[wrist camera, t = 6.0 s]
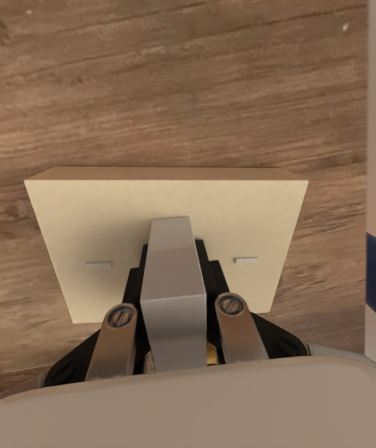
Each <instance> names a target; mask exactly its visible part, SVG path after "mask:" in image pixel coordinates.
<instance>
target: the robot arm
mask: <svg viewBox="0 0 376 448" xmlns="http://www.w3.org/2000/svg"><path fill="white" fill-rule="evenodd" d="M195 244H196V249H197V254H198V258H199V263H200V267H201V272H202V277H203V281H204V286H205V290H206V308H207V341H208V342H209V343H210V344H212V345H213V346H214V351H215V356H216V361H217V365H215V366H207V367H198V368H190V369H182V370H173V371H165V372H157V373H149V374H146V372H147V359H148V355H147V353H148V352H149V351H150V345H149V340H148V336H147V331H146V327H145V322H144V318H143V313H142V309H141V304H140V297H141V290H142V284H143V277H144V270H145V264H146V257H147V250H148V244H145V245H143V249H142V254H141V259H140V264H139V267H137V268H131V269H130V271H129V275H128V279H127V283H126V287H125V291H124V295H123V299H122V303H121V304H118V305H116V306H114V307H112V308H111V309H110V310H109V311H108V312H107V313H106V315H105V317H104V320H103V323H102V326H101V329H99V330H98V331H97V332H95V333H94V334H93V335H92V336H90V337H89V338H88V339H86V340H85V341H84V342H83V343H81V344H80V345H79V346H78V347H76V348H75V349H74V350H72V351H71V352H70V353H69V354H67V355H66V356H65V357H63V358H62V359H61V360H60V361H58V362H57V363H56V364H55V365H54V366H53V367H52V368H51V369H50V371H49V372H48V373H47V374H45V375H43V374H42V373H40V374H38V375H36V376H34V377H31V378H29V379H27V380H25V381H23V382H21V383H19V384H16V385H14V386H12V387H10V388H8V389H6V390H3V391H1V392H0V448H376V363H375V362H374V361H373V360H371V359H370V358H368V357H366V356H364V355H362V354H359V353H355V352H351V351H347V350H343V349H338V348H334V347H330V346H326V345H322V344H318V343H314V342H309V341H308V343H302V342H301V341H300V340H299V338H297V337H296V336H294V335H293V334H291V333H289V332H287V331H285V330H284V329H282V328H280V327H278V326H276V325H274V324H273V323H271V322H269V321H267V320H265V319H264V318H262V317H260V316H258V315H256V314H254V313H253V312H251V311H250V310H249V308H248V306H247V303H246V301H245V300H244V299H243V298H242V297H241V296H240V295H238V294H236V293H232V292H230V290H229V287H228V285H227V282H226V279H225V276H224V273H223V270H222V268H221V265H220V262H219V260H211V261H209V259H208V255H207V252H206V248H205V245H204V241H203V239H201V240H195Z"/></svg>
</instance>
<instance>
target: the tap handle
mask: <svg viewBox="0 0 376 448" xmlns="http://www.w3.org/2000/svg"><path fill="white" fill-rule="evenodd" d="M140 304H141V309H142V313H143V318H144V322H145V327H146V331H147V336H148V340H149V345H150V350H151V354H152V359H153V363H154V368H155V372H156V373H157V372H165V371H173V370H182V369H190V368H198V367H207V308H206V290H205V286H204V281H203V277H202V272H201V267H200V263H199V258H198V254H197V249H196V244H195V240H194V235H193V231H192V226H191V221H190V217H178V218H165V219H153V220H152V224H151V231H150V237H149V244H148V250H147V257H146V264H145V270H144V277H143V284H142V290H141V297H140Z"/></svg>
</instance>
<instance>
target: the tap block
mask: <svg viewBox="0 0 376 448" xmlns="http://www.w3.org/2000/svg"><path fill="white" fill-rule="evenodd" d="M308 182H309V181H308V180H306V179H304V178H302V177H300V176H298V175H295V174H293V173H291V172H289V171H287V170H284V169H282V168H216V167H78V166H54V167H52V168H50V169H48V170H45V171H43V172H41V173H38V174H36V175H34V176H32V177H29V178H27V179H25V180H24V184H25V187H26V190H27V192H28V195H29V198H30V201H31V204H32V207H33V210H34V213H35V215H36V218H37V221H38V224H39V227H40V230H41V233H42V236H43V239H44V241H45V244H46V247H47V250H48V253H49V256H50V259H51V262H52V264H53V267H54V270H55V273H56V276H57V279H58V282H59V285H60V288H61V290H62V293H63V296H64V299H65V302H66V305H67V308H68V311H69V313H70V316H71V319H72V322H73V324H78V323H96V322H103V320H104V317H105V315H106V313H107V312H108V311H109V310H110V309H111V308H112V307H114V306H116V305H118V304H121V303H122V299H123V295H124V291H125V287H126V283H127V279H128V275H129V271H130V269H131V268H137V267H139V264H140V259H141V254H142V249H143V245H145V244H149V237H150V231H151V224H152V220H153V219H165V218H178V217H190V221H191V226H192V231H193V235H194V240H201V239H203V241H204V245H205V248H206V252H207V255H208V259H209V261H211V260H219V262H220V265H221V268H222V270H223V273H224V276H225V279H226V282H227V285H228V287H229V290H230V292H232V293H236V294H238V295H240V296H241V297H242V298H243V299H244V300H245V301H246V303H247V306H248V308H249V310H250V311H251V312H253V313H269V312H270V309H271V305H272V302H273V299H274V295H275V292H276V289H277V285H278V282H279V279H280V275H281V272H282V269H283V265H284V262H285V259H286V255H287V252H288V249H289V245H290V242H291V239H292V235H293V232H294V229H295V225H296V222H297V219H298V215H299V212H300V209H301V205H302V202H303V199H304V195H305V192H306V189H307V185H308Z"/></svg>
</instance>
